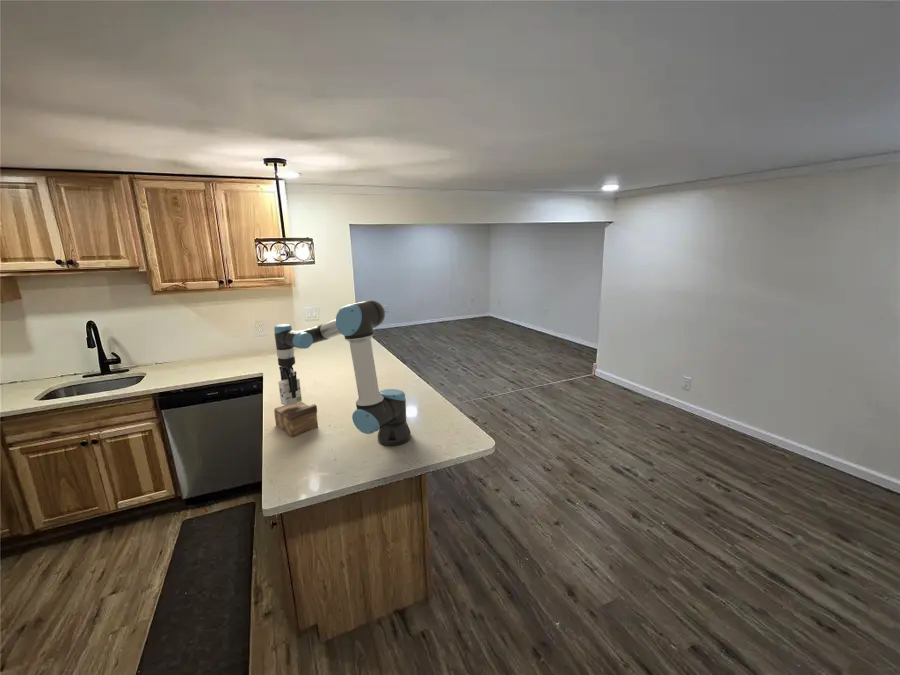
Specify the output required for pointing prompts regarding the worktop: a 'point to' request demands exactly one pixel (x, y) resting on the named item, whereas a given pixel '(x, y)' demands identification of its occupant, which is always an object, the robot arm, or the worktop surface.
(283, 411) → the lid
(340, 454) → the worktop surface
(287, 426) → the crate
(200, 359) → the worktop surface
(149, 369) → the worktop surface
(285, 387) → the ink box
